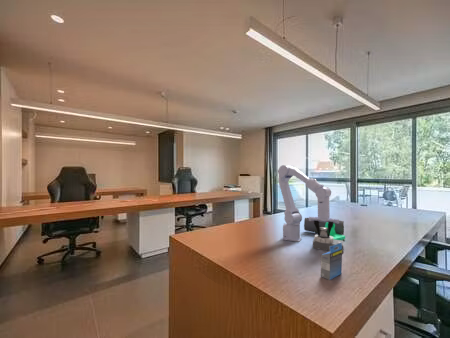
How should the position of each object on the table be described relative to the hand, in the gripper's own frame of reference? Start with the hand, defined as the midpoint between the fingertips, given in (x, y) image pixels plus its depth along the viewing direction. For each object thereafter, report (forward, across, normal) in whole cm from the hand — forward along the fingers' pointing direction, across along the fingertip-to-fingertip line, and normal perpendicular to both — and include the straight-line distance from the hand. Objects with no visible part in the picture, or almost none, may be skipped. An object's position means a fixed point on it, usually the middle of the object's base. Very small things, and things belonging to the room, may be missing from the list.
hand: (323, 235), depth 118 cm
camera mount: (+6, +4, +16) cm, 18 cm away
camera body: (+6, +2, 0) cm, 6 cm away
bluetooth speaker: (+6, -2, +28) cm, 28 cm away
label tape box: (+6, +5, -34) cm, 35 cm away
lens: (+2, 0, -1) cm, 2 cm away
